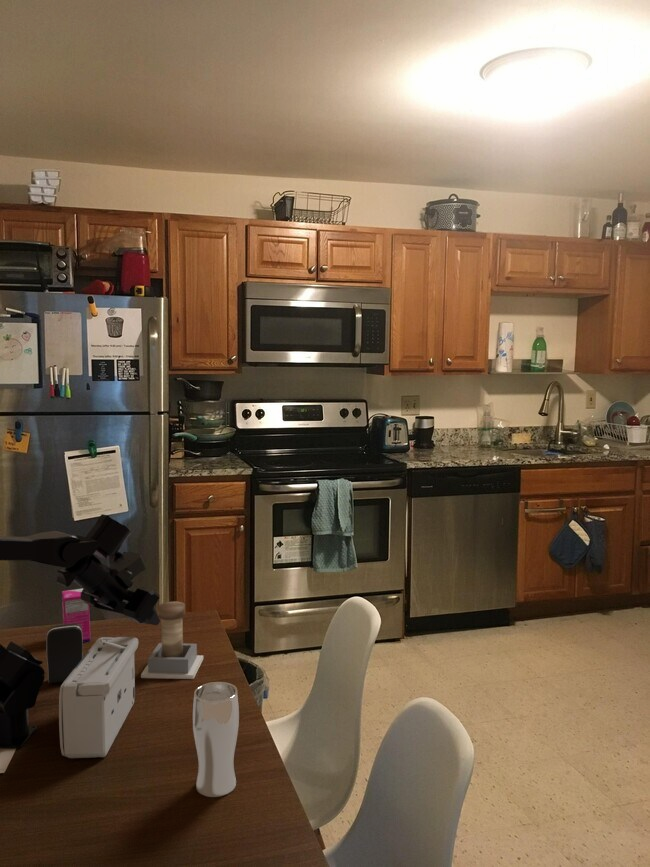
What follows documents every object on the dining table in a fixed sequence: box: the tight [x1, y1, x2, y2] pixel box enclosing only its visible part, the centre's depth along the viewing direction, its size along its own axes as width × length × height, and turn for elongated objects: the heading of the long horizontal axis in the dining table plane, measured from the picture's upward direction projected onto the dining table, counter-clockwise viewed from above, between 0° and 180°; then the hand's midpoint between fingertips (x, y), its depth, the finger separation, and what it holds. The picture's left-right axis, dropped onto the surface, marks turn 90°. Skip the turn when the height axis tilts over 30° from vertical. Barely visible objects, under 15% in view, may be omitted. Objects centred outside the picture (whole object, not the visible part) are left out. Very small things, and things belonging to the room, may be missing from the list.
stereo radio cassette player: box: [58, 636, 139, 759], centre depth 118 cm, size 21×8×20 cm, turn 2°
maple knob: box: [157, 601, 186, 657], centre depth 143 cm, size 6×6×13 cm
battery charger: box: [45, 623, 84, 685], centre depth 138 cm, size 7×4×11 cm, turn 112°
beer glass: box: [192, 681, 240, 798], centre depth 102 cm, size 7×7×15 cm
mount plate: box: [140, 642, 204, 680], centre depth 144 cm, size 10×11×4 cm
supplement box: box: [61, 587, 92, 643], centre depth 159 cm, size 6×6×12 cm
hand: (143, 617), depth 136 cm, fingers open, 9 cm apart
